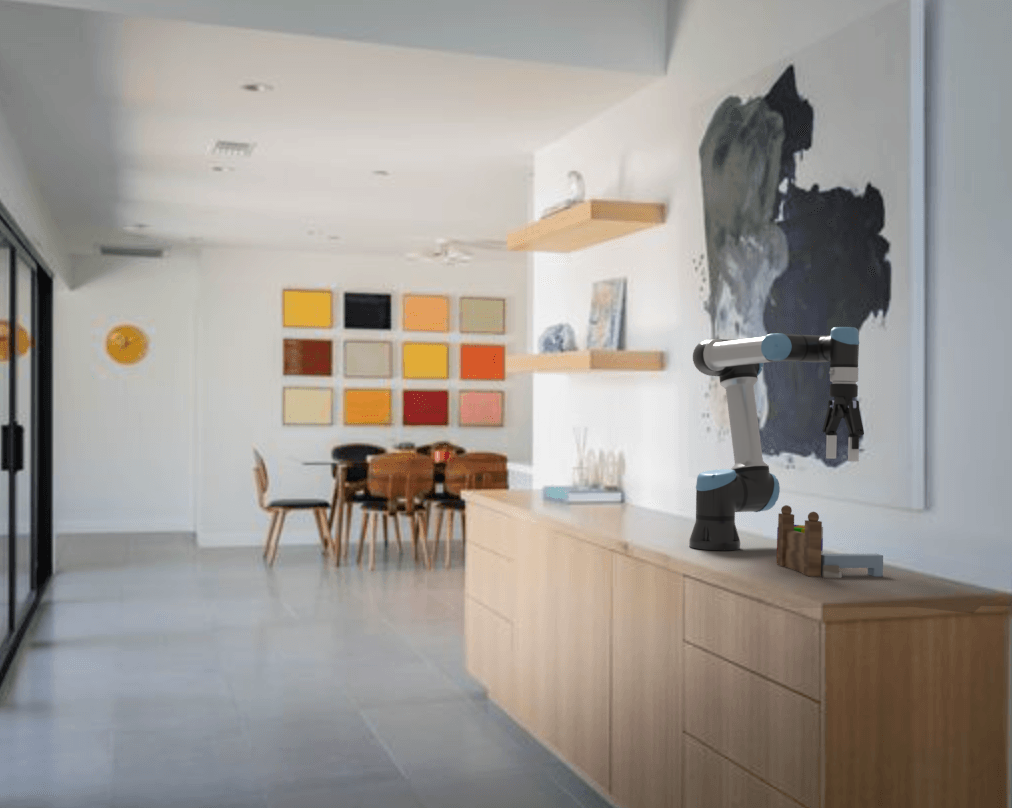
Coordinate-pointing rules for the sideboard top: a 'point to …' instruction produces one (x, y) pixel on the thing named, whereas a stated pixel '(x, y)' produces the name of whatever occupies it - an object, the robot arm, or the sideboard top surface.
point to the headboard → (802, 546)
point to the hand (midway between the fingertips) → (842, 460)
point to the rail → (855, 562)
